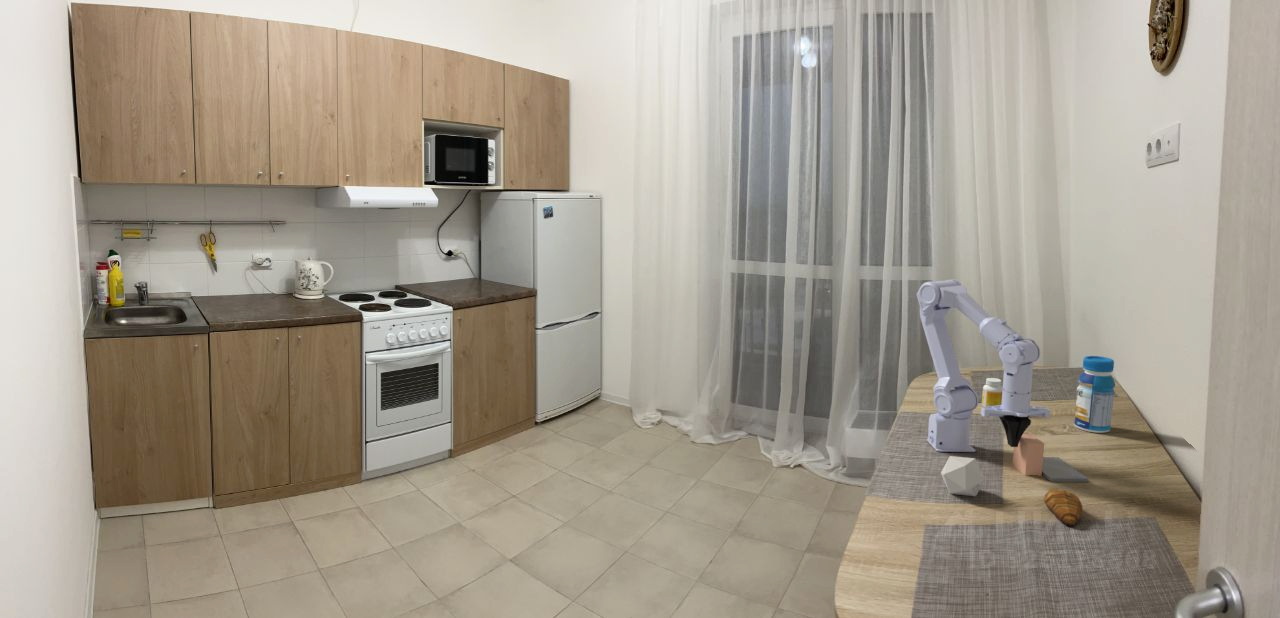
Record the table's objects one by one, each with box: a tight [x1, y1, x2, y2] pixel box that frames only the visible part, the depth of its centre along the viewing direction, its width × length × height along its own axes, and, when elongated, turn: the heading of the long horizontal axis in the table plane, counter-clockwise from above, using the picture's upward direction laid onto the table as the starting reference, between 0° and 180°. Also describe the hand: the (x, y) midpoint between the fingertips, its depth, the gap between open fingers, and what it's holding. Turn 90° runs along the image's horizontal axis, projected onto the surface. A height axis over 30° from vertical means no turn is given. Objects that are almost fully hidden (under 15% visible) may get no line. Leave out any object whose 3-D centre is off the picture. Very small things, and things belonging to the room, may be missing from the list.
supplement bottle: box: [981, 377, 1003, 407], centre depth 187 cm, size 5×5×10 cm
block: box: [1012, 433, 1045, 477], centre depth 146 cm, size 4×6×8 cm, turn 174°
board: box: [1042, 456, 1089, 483], centre depth 146 cm, size 8×12×1 cm, turn 174°
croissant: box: [1043, 488, 1083, 527], centre depth 127 cm, size 14×7×5 cm, turn 159°
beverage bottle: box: [1073, 355, 1116, 434], centre depth 169 cm, size 8×8×20 cm
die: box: [940, 455, 986, 497], centre depth 137 cm, size 8×9×10 cm
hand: (1012, 445), depth 146 cm, fingers closed
